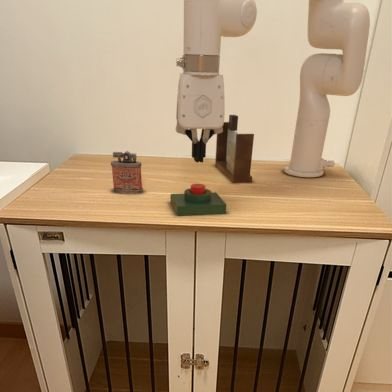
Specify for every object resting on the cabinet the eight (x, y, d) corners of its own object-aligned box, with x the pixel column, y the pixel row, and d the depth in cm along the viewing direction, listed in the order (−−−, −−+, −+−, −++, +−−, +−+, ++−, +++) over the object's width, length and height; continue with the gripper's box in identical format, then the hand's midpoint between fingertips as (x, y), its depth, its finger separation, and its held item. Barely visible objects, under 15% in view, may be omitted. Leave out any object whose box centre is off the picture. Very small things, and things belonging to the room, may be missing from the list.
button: (203, 190, 102) (203, 183, 101) (206, 195, 99) (207, 187, 98) (189, 191, 101) (189, 183, 100) (192, 195, 98) (192, 188, 97)
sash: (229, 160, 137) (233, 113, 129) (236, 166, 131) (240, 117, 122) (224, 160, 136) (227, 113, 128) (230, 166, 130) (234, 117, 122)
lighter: (143, 190, 113) (141, 151, 107) (141, 193, 110) (139, 153, 104) (114, 189, 113) (111, 149, 107) (112, 192, 111) (108, 152, 104)
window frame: (232, 164, 140) (235, 121, 132) (252, 182, 123) (257, 134, 115) (215, 165, 139) (217, 121, 131) (233, 183, 122) (237, 134, 114)
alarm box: (215, 200, 107) (216, 185, 105) (225, 213, 100) (227, 196, 97) (170, 202, 105) (170, 186, 103) (177, 215, 97) (177, 198, 95)
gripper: (168, 65, 80) (169, 165, 91) (241, 68, 83) (233, 164, 94) (163, 64, 86) (164, 158, 97) (230, 66, 89) (224, 157, 100)
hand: (198, 160), depth 96 cm, fingers closed
